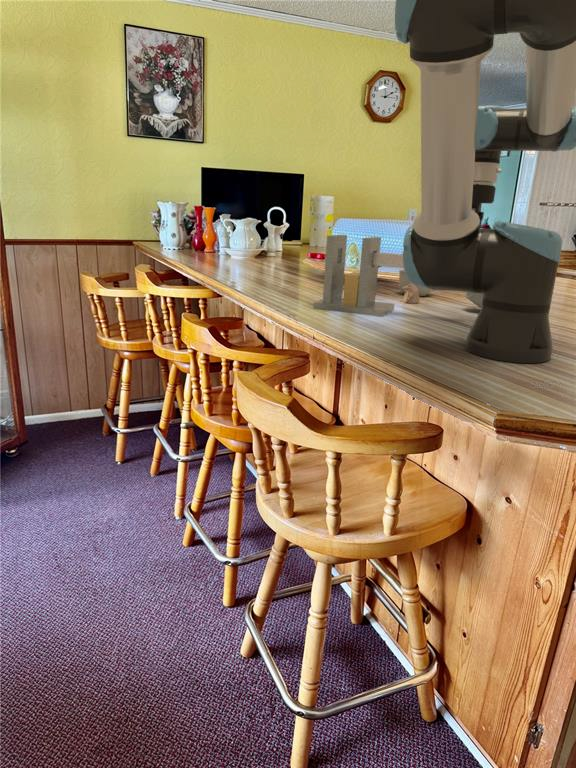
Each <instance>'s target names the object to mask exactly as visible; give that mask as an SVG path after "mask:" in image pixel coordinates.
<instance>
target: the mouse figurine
mask: <svg viewBox="0 0 576 768" xmlns="http://www.w3.org/2000/svg"><path fill="white" fill-rule="evenodd" d="M403 289H404V290H405V291H406V292H405V294H404V293H403V294H404V295H403V296H402V299H401V300H400V302H401V304H411V305H413V304H415V305H416V304H418V303H421V304H422V303H423V304H427V303H428V302H427V301H423V300H420V296H419V292H418V289H417V287H416V286H415V285H413V284H412V283H411V284H408V285H407V286H404V287H403Z"/></svg>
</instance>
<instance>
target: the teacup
mask: <svg viewBox="0 0 576 768" xmlns="http://www.w3.org/2000/svg"><path fill="white" fill-rule="evenodd" d="M398 271H399V274H398V275H399V277H398V283H399V284H398V286H399V287H398V288H399V290H400V292H402V293H403V294H405V292H406V291H405V290H404V289H403V287H404V286H407V285H408V284H411V283H410V282H409V280H408V279H407V277H406V274H405V270H404V268H399V270H398ZM416 287H417V289H418V292H419V297H425V296H426V297H427V296H428V294H430V293H431V292H433V290H434V289H429V288H426V287H420V286H416Z"/></svg>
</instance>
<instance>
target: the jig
mask: <svg viewBox="0 0 576 768" xmlns="http://www.w3.org/2000/svg"><path fill="white" fill-rule="evenodd" d="M347 240H348V235H347V234H332V235H326V244H325V245H326V247H325V260H324V261H325V262H324V277H323V278H324V280H323V293H322V298H321V299H319V300H317V301H314V302H313V309H315V310H324V311H331V312H338V313H339V312H341V313H349V314H356V315H357V314H358V315H366V316H372V317H373V316H374V317H381V318H384V317H386V315H388V314H389V313H391V312H392V311H394V309H395V303H389V302H383V301H382V302H381V301H376V295H377V294H376V293H377V284H378V274H379V266H373V265H372V257H373V252H379V253H381V241H382V237H379V236H369V237H362V243H361V254H360V266H359V273H360V276H359V287H358V299H357V306H353V305H345V304H343V296H344V283H345V267H346V257H347V256H346V254H347V243H348V242H347Z"/></svg>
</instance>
